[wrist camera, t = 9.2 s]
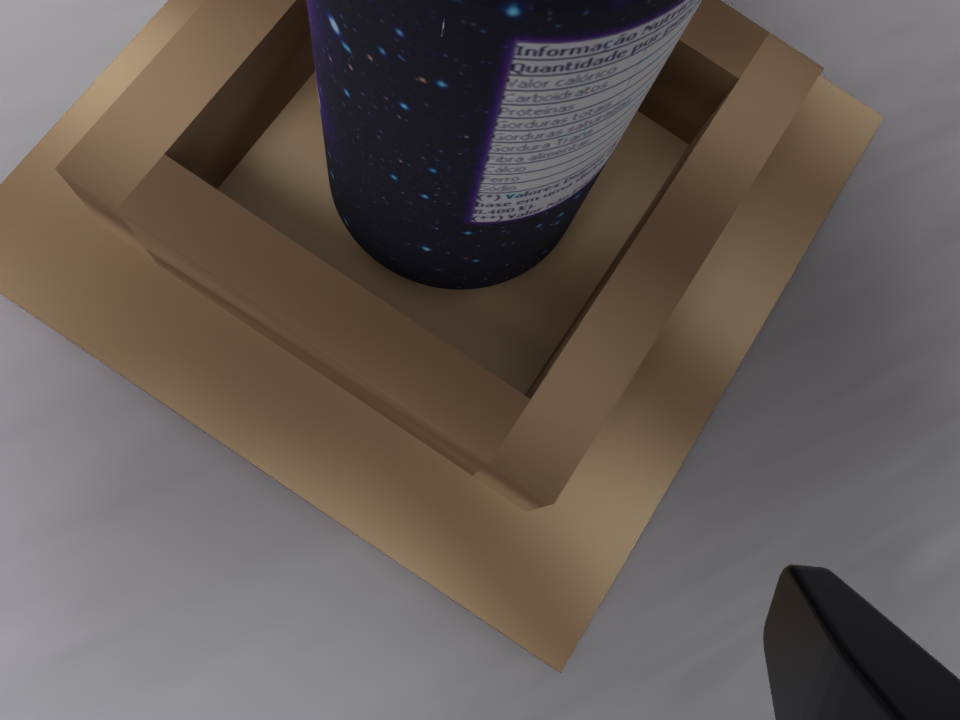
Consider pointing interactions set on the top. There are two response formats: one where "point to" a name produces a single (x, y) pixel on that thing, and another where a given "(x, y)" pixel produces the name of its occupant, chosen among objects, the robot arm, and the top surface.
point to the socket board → (430, 297)
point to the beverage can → (477, 121)
